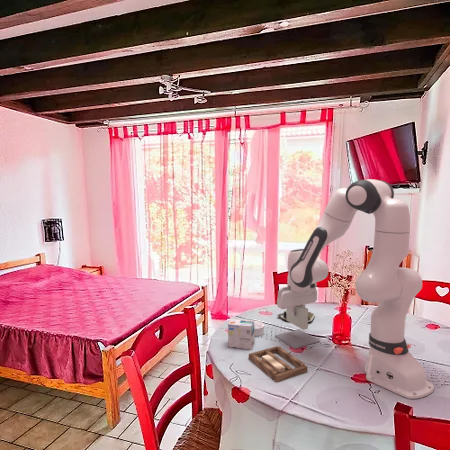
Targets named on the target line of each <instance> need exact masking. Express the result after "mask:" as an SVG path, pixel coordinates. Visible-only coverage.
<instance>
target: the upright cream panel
mask: <svg viewBox="0 0 450 450" xmlns="http://www.w3.org/2000/svg"><path fill="white" fill-rule="evenodd" d="M285 311H286V320H287V321H288V322H287V323H289V322H290V323H291V324H292V325H294V326H296V327H298V328H299V329H300V330H302V331H304V330H308V329H309V324H308V312H309V308H307V307H306V306H305V307H303V306H301V305H300V306H296V307H294V311H295V312H296V316H292V315H291V311H290V309H289V308H286V309H285Z"/></svg>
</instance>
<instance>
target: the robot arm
mask: <svg viewBox="0 0 450 450" xmlns="http://www.w3.org/2000/svg"><path fill="white" fill-rule="evenodd" d="M394 197H395V191H394V188H393V186H392V184H390V183H388V182H387V181H386V180H385V181H384V180H381V179H379V180H378V179H373V178H371V179H369V178H368V179H359V180H356V181H354V182H352V183H351V184H349V186H348V187H342V188H337V190H335V191H334V192H333V194H332V196H331V198H330V199H329V200H328V203H326V204H327V205H326V207H325V208H324V211H323V214H322V216H321V218H320V220H319V222H318V224H317V226H315V229H314V230H313V232H312V233H311V235H310V236H309V238H308V240H307V241H306V244H305V246H304V248H298V249H292V250H290V251H289V253H288V257H287V272H288V274H287V285H286V286H285V287H280V288H279V289H278V291H277V299H276V306H277V308H279V309H281V310H286V308H289V309H290V311H291V315H292V316H296V312H295V311H294V307H296V306H300V305H301V306H303V307H305V308H306V305H309V304H313V303H316V302H317V300H318V289H317V287H318V286H317V285H318V282H321V281H324V280H325V279H326V278H328V277H329V272H330V271H329V265H328V264H327V262H326V261H325V260H324V259H321V258H319V256H320V254H321V253H322V251H323V250H324V248H325V247H327V246H329V244H331V243H333V242H334V241H336V240H338V239H340V238H342V237H343V236H344V235H345V234H346V233H347V232H348V230H349V228H350V227H351V225H352V222H353V219H354V218H355V215H356V214H357V212H358V211H360V212H363V213H366V214H368V215H371V214H372V215H373V216H374V223H375V224H374V237H373V238H374V239H373V249H372V253H371V256H370V259H369V262H368V264H367V265H366V267H365V268H364V270H363V272H362V273H361V274H360V275H359V276H358V277H357V278H356V281H355V291H356V294H357V295H358V297H359V298H360V299H361V300H362V301H364V302H369V303H378V304H377V306H375V308H374V309H373V311H372V312H371V314H370V332H369V333H368V345H369V349H368V355H367V360H366V363H365V365H364V372H365V374H366V375H365V379H366V381H368V382H371V383H372V384H375V385H378V386H380V387H382V388H384V389H386V390H389V392H392V393H395V394H397V395H399V396H401V397H404V398H406V399H410V400H411V399H412V400H415V399H416V400H417V399H421V398H424V397H427V396H429V395H431V394H432V393H434V390H435V387H434V384H433V383H432V382H430V381H429V380H427V373H426V370H425V368H424V367H423V366H422V364H420V362H419V361H418V360H417V359H416V358H415V357H414V356H413V355H412V353H411V352H410V351H409V349H410V348H412V343H411V344H407V340H406V338H405V330H406V329H405V328H406V320H407V319H406V318H407V315H408V312H409V310H410V307H411V305H412V302H413V300H414V299H415V298H416V296H417V294H418V293H419V292H420V291H421V290H422V289H423V280H422V276H421V275H420V273H419V272H418V271H417V270H416V269H413V268H408V267H402V266H401V267H400V265H401V263H402V262H403V261H404V259H406V258H407V256H408V254H409V253H410V251H409V250H410V238H411V237H410V236H411V216H410V209H409V205H408V203H406V202H405V201H403V199H398V198H394Z"/></svg>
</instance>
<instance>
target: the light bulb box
mask: <svg viewBox="0 0 450 450" xmlns="http://www.w3.org/2000/svg"><path fill="white" fill-rule="evenodd" d="M254 321H255V320H251V319H237V318H231V319H230V320H229V322H228V323H227V338H228V339H227V340H228V341H227V343H228V346H229V347H228V346H227V347H228V348H232V347H236V348H235V349H241V348H242V349H243V350H249V351H250V350H252V349H253V348H254V346H255V345H256V344H255V341H256V340H255V337H256V336H255V335H254ZM242 349H241V350H242Z"/></svg>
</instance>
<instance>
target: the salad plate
mask: <svg viewBox="0 0 450 450" xmlns="http://www.w3.org/2000/svg"><path fill="white" fill-rule="evenodd" d="M276 316H277V317H279V318H280V319H281V320H282V321H283V322H286V323H290V322H288V321H287V320H286V310H284V312H282V313H279V314H277V315H276ZM314 319H315V313H313V312H311V311H308V325H309V324H311V323H312V322H313V320H314Z"/></svg>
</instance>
